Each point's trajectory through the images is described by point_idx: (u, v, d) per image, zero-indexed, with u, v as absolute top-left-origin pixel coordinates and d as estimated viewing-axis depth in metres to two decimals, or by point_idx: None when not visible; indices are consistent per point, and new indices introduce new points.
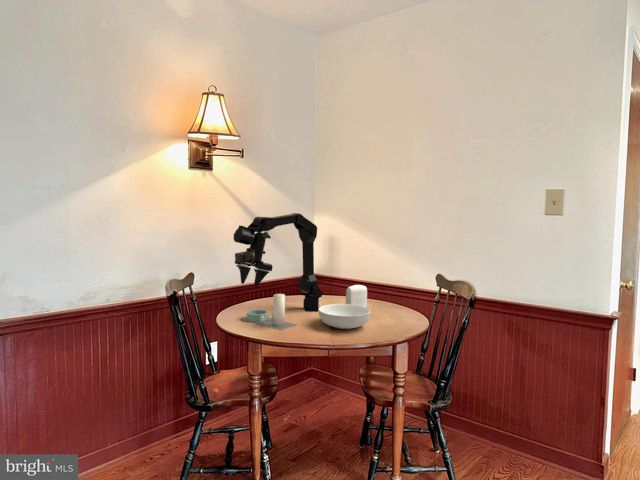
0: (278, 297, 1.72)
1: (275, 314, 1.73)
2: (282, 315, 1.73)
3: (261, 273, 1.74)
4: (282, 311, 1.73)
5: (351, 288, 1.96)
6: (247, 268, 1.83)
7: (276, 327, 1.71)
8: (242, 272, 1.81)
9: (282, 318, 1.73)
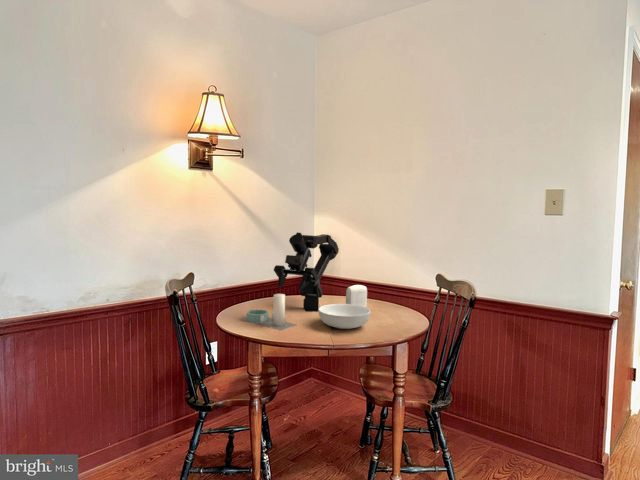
0: (278, 297, 1.72)
1: (275, 314, 1.73)
2: (282, 315, 1.73)
3: (306, 280, 1.82)
4: (282, 311, 1.73)
5: (351, 288, 1.96)
6: (284, 277, 1.88)
7: (276, 327, 1.71)
8: (281, 278, 1.85)
9: (282, 318, 1.73)
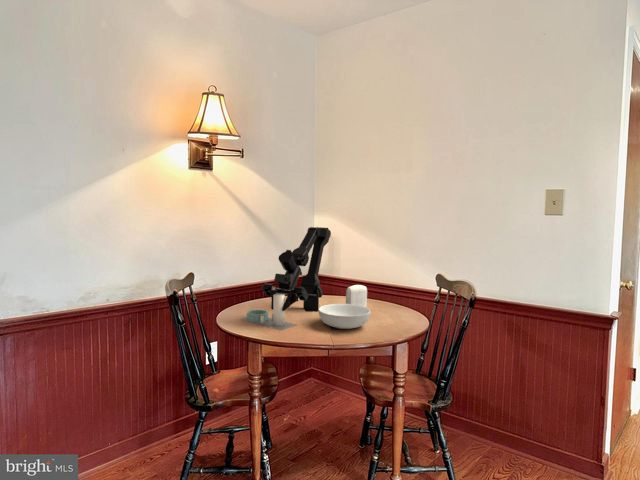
0: (278, 297, 1.72)
1: (275, 314, 1.73)
2: (282, 315, 1.73)
3: (291, 299, 1.75)
4: (282, 311, 1.73)
5: (351, 288, 1.96)
6: None
7: (276, 327, 1.71)
8: None
9: (282, 318, 1.73)
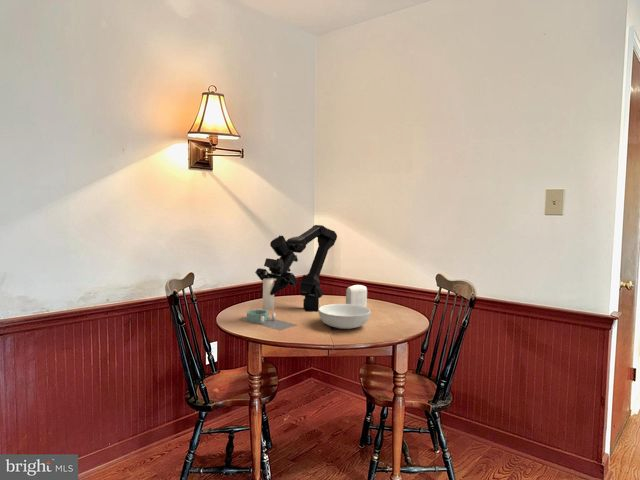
0: (266, 281, 1.75)
1: (264, 298, 1.76)
2: (270, 299, 1.76)
3: (280, 284, 1.78)
4: (270, 295, 1.76)
5: (351, 288, 1.96)
6: None
7: (276, 327, 1.71)
8: None
9: (270, 302, 1.76)
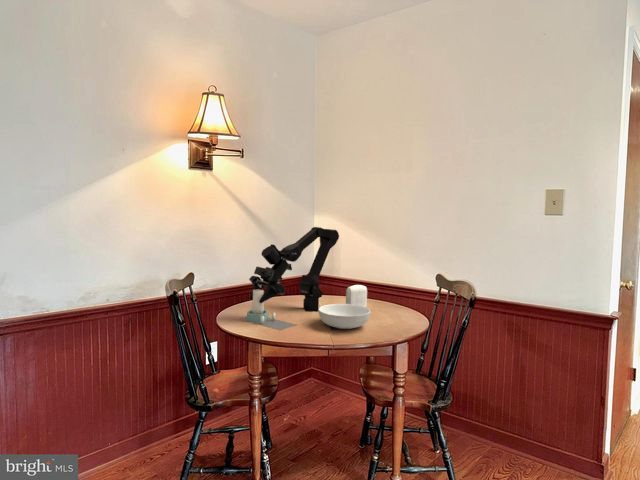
0: (255, 292, 1.80)
1: (253, 308, 1.81)
2: (259, 310, 1.80)
3: (270, 292, 1.80)
4: (259, 306, 1.80)
5: (351, 288, 1.96)
6: (260, 288, 1.87)
7: (276, 327, 1.71)
8: (254, 289, 1.85)
9: (259, 313, 1.80)
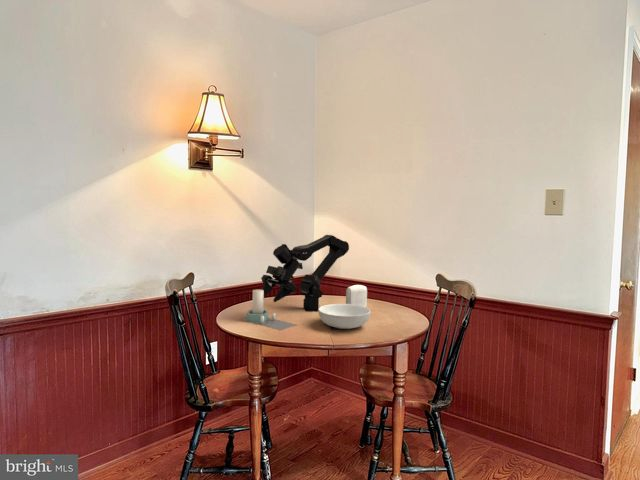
0: (255, 292, 1.79)
1: (253, 308, 1.81)
2: (259, 310, 1.80)
3: (284, 291, 1.83)
4: (259, 306, 1.80)
5: (351, 288, 1.96)
6: (270, 287, 1.92)
7: (276, 327, 1.71)
8: (265, 287, 1.90)
9: (259, 313, 1.80)
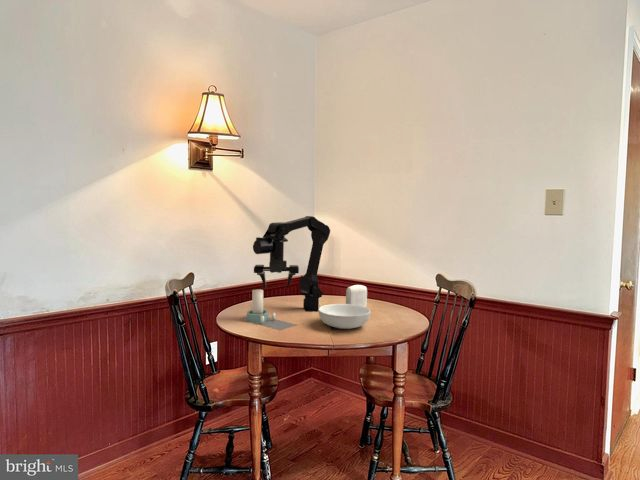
0: (254, 292, 1.80)
1: (252, 308, 1.81)
2: (258, 310, 1.80)
3: None
4: (258, 306, 1.80)
5: (351, 288, 1.96)
6: (264, 273, 1.88)
7: (276, 327, 1.71)
8: (264, 279, 1.86)
9: (259, 313, 1.80)
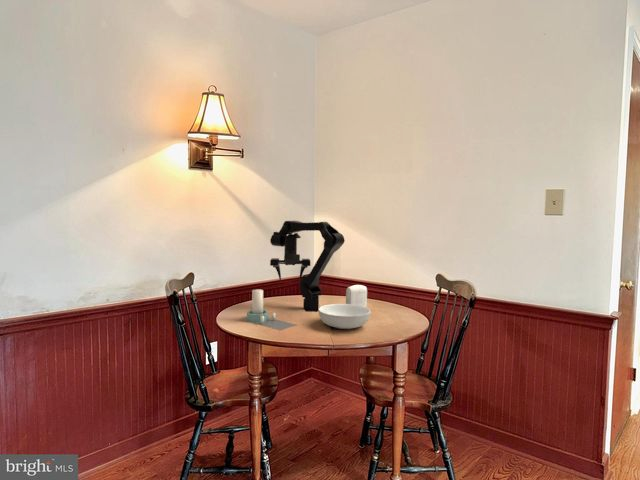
0: (254, 292, 1.79)
1: (252, 308, 1.81)
2: (258, 310, 1.80)
3: None
4: (258, 306, 1.80)
5: (351, 288, 1.96)
6: (279, 266, 2.09)
7: (276, 327, 1.71)
8: (279, 271, 2.07)
9: (259, 313, 1.80)
